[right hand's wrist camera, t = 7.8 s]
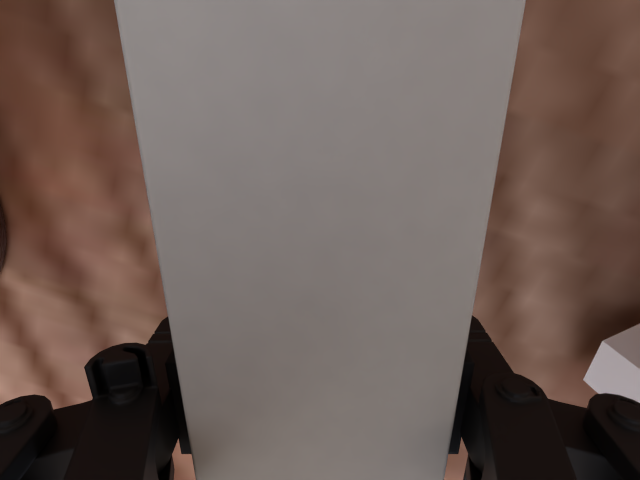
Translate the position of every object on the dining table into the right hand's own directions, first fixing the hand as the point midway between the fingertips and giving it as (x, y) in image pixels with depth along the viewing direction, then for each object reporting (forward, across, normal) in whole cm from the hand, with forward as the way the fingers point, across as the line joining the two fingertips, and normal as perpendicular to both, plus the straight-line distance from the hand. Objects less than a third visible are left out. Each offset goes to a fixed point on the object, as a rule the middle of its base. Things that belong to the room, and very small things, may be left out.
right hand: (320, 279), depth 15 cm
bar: (+1, 0, -9) cm, 9 cm away
